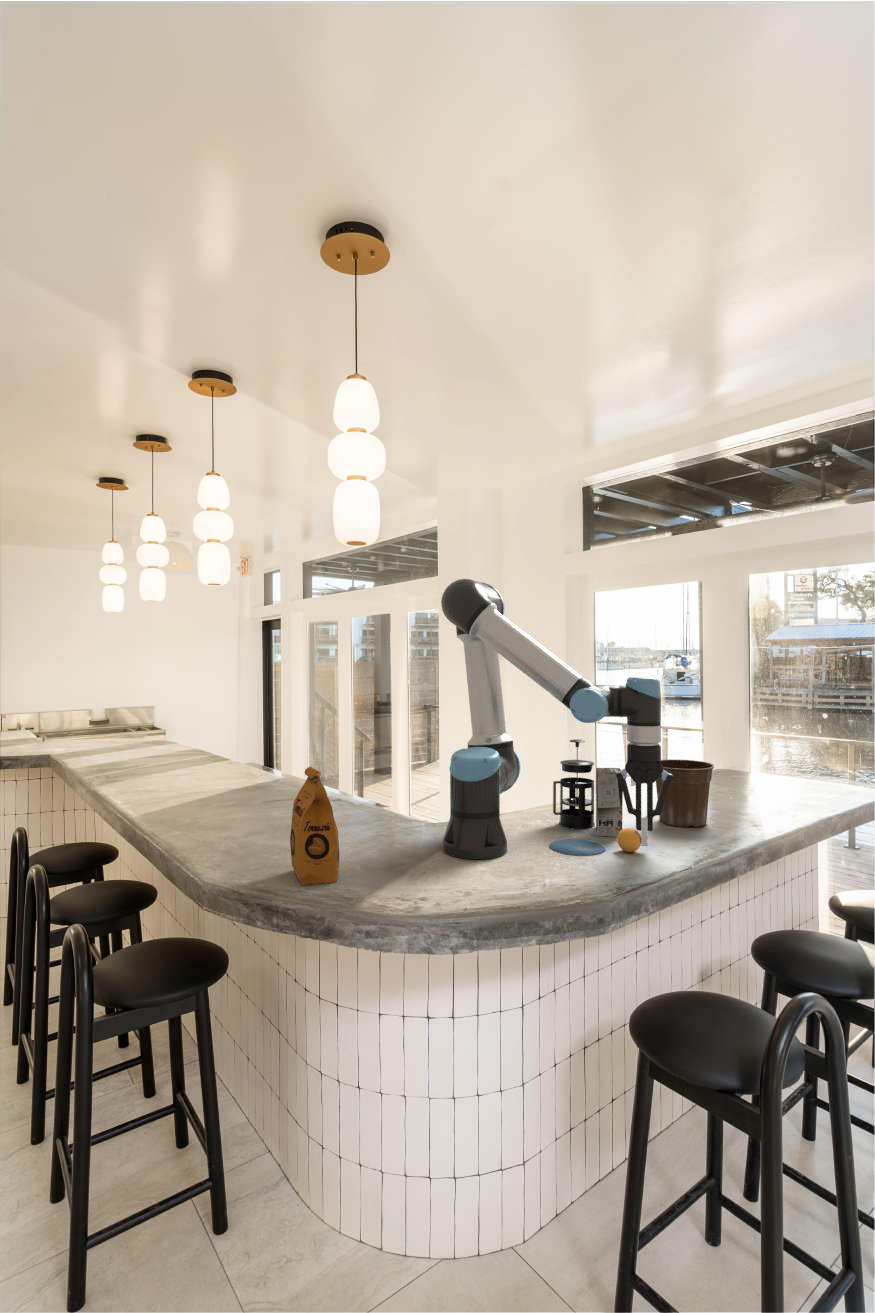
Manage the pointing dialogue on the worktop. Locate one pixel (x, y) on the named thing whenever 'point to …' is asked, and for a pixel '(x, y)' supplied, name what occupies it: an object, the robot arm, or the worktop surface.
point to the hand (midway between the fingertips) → (644, 844)
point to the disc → (577, 847)
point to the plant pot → (686, 792)
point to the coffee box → (608, 802)
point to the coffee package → (314, 834)
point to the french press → (575, 794)
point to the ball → (629, 839)
